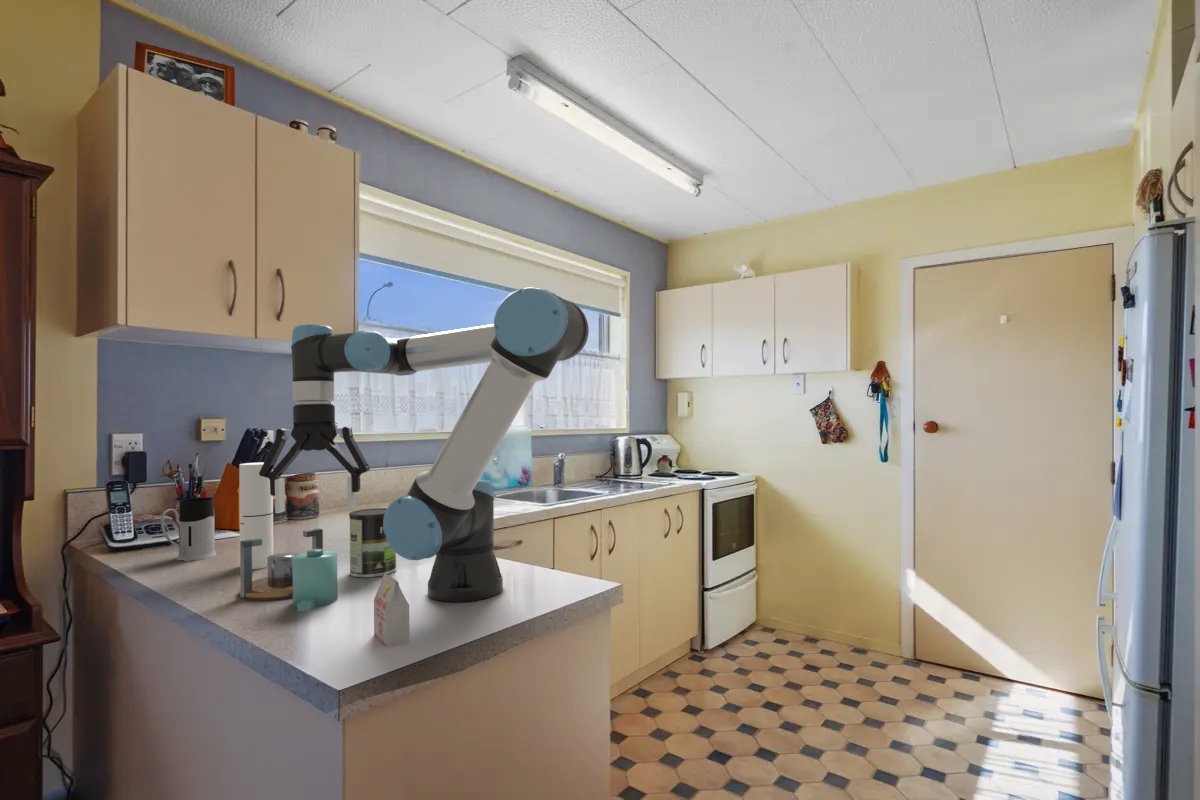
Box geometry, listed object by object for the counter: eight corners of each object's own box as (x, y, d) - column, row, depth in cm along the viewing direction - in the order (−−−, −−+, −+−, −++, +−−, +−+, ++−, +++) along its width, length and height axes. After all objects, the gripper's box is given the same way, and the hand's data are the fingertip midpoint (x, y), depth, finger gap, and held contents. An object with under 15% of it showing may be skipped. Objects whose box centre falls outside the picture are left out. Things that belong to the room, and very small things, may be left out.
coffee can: (404, 567, 147) (404, 508, 147) (381, 578, 137) (380, 515, 137) (366, 565, 149) (365, 507, 149) (340, 576, 139) (339, 514, 139)
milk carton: (396, 630, 105) (395, 571, 105) (409, 641, 99) (408, 579, 99) (374, 635, 103) (373, 575, 103) (386, 647, 97) (385, 584, 97)
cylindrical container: (259, 569, 146) (259, 464, 147) (232, 569, 148) (232, 464, 148) (279, 562, 153) (279, 462, 154) (254, 561, 155) (253, 462, 155)
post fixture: (339, 586, 131) (339, 532, 132) (259, 605, 119) (258, 546, 119) (304, 574, 142) (303, 524, 142) (226, 591, 129) (226, 536, 129)
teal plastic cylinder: (345, 591, 128) (345, 543, 128) (326, 609, 116) (325, 556, 116) (305, 593, 127) (305, 544, 127) (281, 612, 115) (281, 558, 115)
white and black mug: (224, 553, 164) (224, 497, 164) (175, 567, 150) (175, 505, 150) (198, 552, 166) (197, 496, 166) (147, 565, 152) (147, 504, 153)
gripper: (383, 402, 127) (385, 504, 127) (256, 405, 124) (258, 510, 124) (373, 401, 120) (376, 510, 119) (238, 405, 117) (240, 516, 117)
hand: (316, 510), depth 122 cm, fingers open, 13 cm apart
